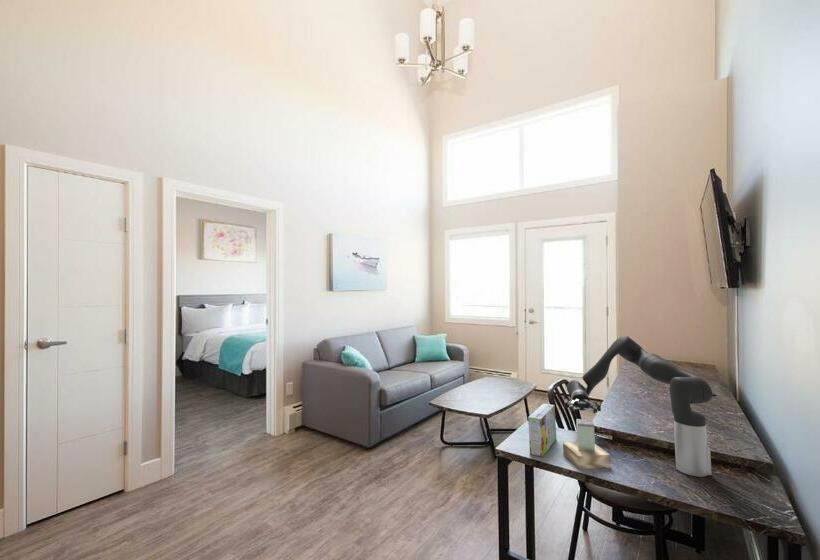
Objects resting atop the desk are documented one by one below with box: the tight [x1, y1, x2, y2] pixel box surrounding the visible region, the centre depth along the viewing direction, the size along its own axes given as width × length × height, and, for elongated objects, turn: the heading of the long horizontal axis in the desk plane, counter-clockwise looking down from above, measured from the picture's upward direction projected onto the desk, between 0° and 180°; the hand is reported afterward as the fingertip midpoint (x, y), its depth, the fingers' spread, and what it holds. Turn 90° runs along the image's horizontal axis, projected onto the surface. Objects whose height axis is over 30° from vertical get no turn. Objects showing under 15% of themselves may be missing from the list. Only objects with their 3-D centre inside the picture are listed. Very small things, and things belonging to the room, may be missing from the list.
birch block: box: [562, 441, 611, 470], centre depth 141 cm, size 12×12×5 cm
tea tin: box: [575, 418, 596, 452], centre depth 141 cm, size 6×6×10 cm
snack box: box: [527, 403, 557, 458], centre depth 154 cm, size 21×6×15 cm, turn 144°
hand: (583, 409), depth 153 cm, fingers open, 8 cm apart
